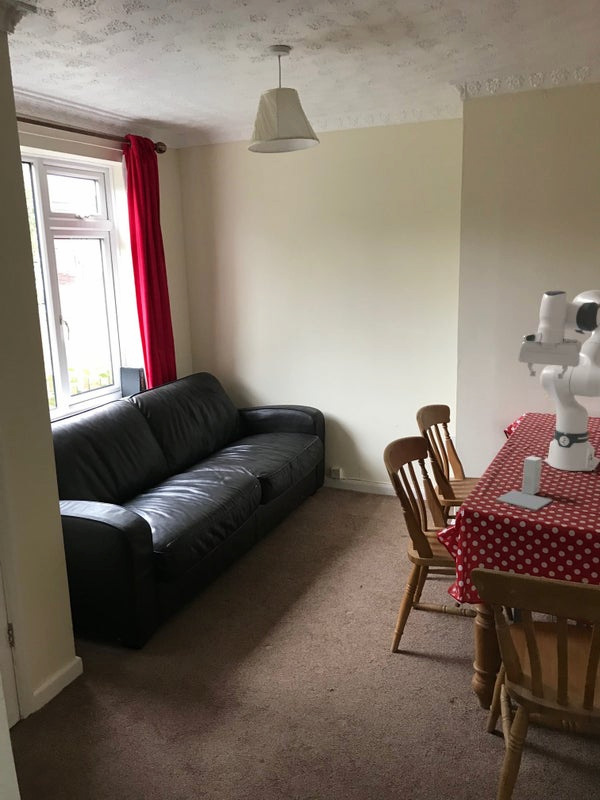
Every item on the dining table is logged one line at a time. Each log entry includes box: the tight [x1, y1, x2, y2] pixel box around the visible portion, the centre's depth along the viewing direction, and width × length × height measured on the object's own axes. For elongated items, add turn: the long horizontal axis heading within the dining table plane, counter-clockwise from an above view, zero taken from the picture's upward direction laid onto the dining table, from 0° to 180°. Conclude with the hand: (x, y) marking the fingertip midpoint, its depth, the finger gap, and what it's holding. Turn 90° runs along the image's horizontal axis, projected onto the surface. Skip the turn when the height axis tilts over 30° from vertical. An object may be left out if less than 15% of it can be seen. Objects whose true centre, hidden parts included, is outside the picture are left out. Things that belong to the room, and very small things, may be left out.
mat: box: [495, 489, 553, 512], centre depth 221 cm, size 12×14×1 cm
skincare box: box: [521, 455, 543, 495], centre depth 227 cm, size 6×4×12 cm
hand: (546, 377), depth 233 cm, fingers open, 8 cm apart
